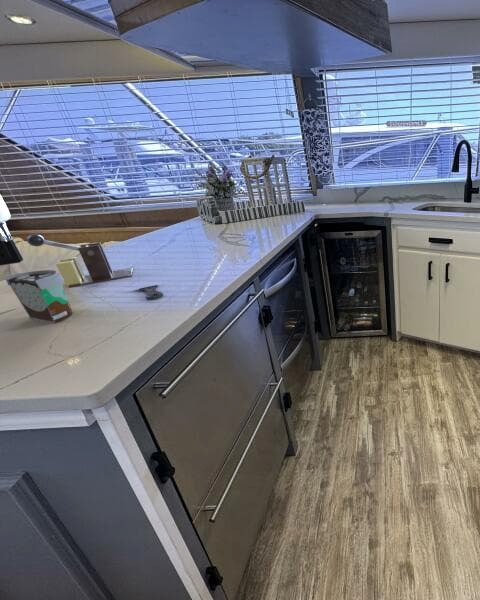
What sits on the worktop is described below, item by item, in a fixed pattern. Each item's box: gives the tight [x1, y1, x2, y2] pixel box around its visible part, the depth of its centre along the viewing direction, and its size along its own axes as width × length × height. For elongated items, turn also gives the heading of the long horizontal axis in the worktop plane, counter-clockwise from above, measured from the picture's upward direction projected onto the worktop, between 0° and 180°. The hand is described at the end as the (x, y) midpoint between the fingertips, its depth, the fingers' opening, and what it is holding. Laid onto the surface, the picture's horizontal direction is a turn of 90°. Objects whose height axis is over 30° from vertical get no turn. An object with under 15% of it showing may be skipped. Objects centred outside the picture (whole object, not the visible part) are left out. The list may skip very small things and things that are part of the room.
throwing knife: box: [138, 284, 164, 300], centre depth 87 cm, size 4×20×1 cm, turn 44°
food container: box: [4, 269, 73, 324], centre depth 72 cm, size 12×6×10 cm, turn 71°
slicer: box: [67, 242, 134, 289], centre depth 94 cm, size 14×10×11 cm
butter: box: [55, 256, 86, 287], centre depth 92 cm, size 3×8×6 cm, turn 36°
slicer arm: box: [26, 233, 79, 252], centre depth 89 cm, size 14×3×3 cm, turn 126°
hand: (10, 263), depth 59 cm, fingers closed
